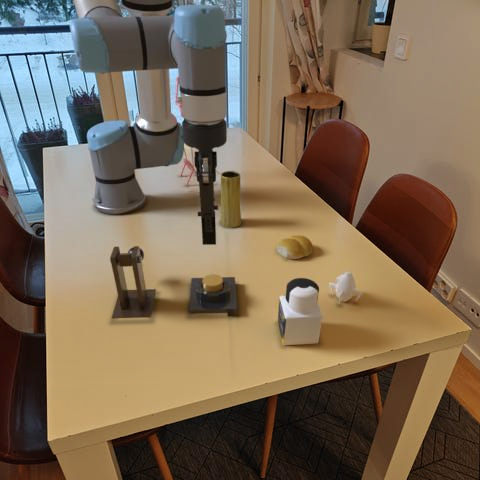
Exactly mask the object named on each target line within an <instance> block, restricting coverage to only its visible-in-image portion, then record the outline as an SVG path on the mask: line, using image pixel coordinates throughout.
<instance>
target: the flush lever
mask: <svg viewBox="0 0 480 480" xmlns="http://www.w3.org/2000/svg"><path fill="white" fill-rule="evenodd" d="M133 248H134V246H133V247H131V248H130V249H129V250H128V251H127V252H120V254H119V265H120V267H123V268H124V267H127V268H128V267H132V261H131V255H132V252H133ZM139 249H140V255H141V257H142V261H144V258H145V253H144V251H143V249H142V248H140V247H139Z"/></svg>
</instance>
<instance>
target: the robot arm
mask: <svg viewBox="0 0 480 480" xmlns="http://www.w3.org/2000/svg"><path fill="white" fill-rule="evenodd" d="M72 1H73V4H74V8H75V13H76V15H77V18H73V19H71V20H70V22H69V30H70V35H71V40H72V44H73V51H74V54H75V59H76V63H77V67H78V69H79V70H80V71H81V72H83V73H87V74H89V73H91V74H92V73H93V74H95V73H96V74H97V73H98V74H101V75H104V74H107V73H123V72H135V78H136V86H137V87H136V88H137V96H138V104H139V113H138V114H137V116H136V117H135V120H134V121H135V125H131V126H130V125H129V123H127V121H125V120H121V119H119V120H118V119H117V120H116V119H113V120H107V121H103V122H100V123H98V124H95V125H94V126H91V127H90V129H88V131H87V133H86V139H87V145H88V146H87V149H88V151H89V155H90V160H91V164H92V170H93V173H94V179H95V187H94V195H93V198H92V202H93V204H94V208H95V210H96V211H98V212H100V213H102V214H106V215H126V214H130V213H134V212H136V211H138V210H140V209H141V208H143V207H144V206H145V204H146V197H145V194H144V192H143V190H142V187H141V186H140V184H139V182H138V180H137V178H136V172H135V170H141V169H150V168H159V167H169V166H173V165H178V164H179V163H180V162H182V160H183V157H184V154H185V153H184V149H185V146H187V147H189V148H190V149H191V148H192V149H196V150H198V151H194V156H193V163H194V168H195V169H196V170H195V171H196V172H197V176H196V181H197V182H198V188H199V202H200V211H197V217H200V219H201V220H200V221H201V237H202V238H201V240H202V245H203V246H208V245H209V246H210V245H211V246H212V245H213V246H214V245H215V246H216V245H217V226H216V225H217V223H216V211H219V205H215V201H216V199H215V182H216V181H217V168H218V156H217V155H218V154H217V153H218V152H217V151H216V150H215V151H214V149H218V148H221V147H223V146H225V144H226V143H227V142H228V141H227V140H228V135H227V134H228V132H227V131H228V130H227V129H228V125H227V124H228V123H227V120H225V119H226V118H227V116H228V108H227V107H228V105H227V103H228V102H227V101H228V100H227V99H228V98H227V46H226V45H227V37H228V35H227V29H226V18H225V12H224V10H223V8H222V7H220V6H218V5H211V4H183V5H179V6H177V7H176V8H175V10H174V13H172V14H170V15H168V13H169V12H170V11H171V10H172V8H173V0H121V6H122V7H123V8H124V9H125V10H126V11H127V12H128V14H129V16H124V15H123V13H122V11H121V10H122V9H121V8H120V5H119V3H118V0H72ZM176 69H177V73H178V76H179V85H178V88H179V96H177V104H182V106H181V113H182V117H181V118H183V120H182V122H179V121H178V119H177V116H176V115H174V114H173V113H172V102H171V101H172V100H171V99H172V98H171V78H170V70H176Z"/></svg>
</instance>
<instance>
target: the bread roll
mask: <svg viewBox="0 0 480 480" xmlns="http://www.w3.org/2000/svg"><path fill="white" fill-rule="evenodd" d="M276 250H277V253H278V254H279V255H280V256H282V257H283V258H285V259H287V260H297V259H301V258H303V257H308V256H310V255H312V253H313V250H314V246H313V243H312V241H311V240H310V239H309V238H308V237H306V236H305V235H300V234H299V235H297V234H296V235H291V236H289V237H287V238H286V237H285V238H282V239H280V240H279V241H278V243H277V245H276Z"/></svg>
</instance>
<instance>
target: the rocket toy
mask: <svg viewBox="0 0 480 480" xmlns="http://www.w3.org/2000/svg"><path fill="white" fill-rule="evenodd" d="M328 285H329V289H330V294H331V295H332V296H333V295H334V293H333V292H334V291H333V290H334V288H335V295H336V298H337V299H338V305H341V302H343V303H345V302H348V301H350V300H351V299H352V298H353V296H354V295H356V298H355V300H354V303H356V302H357V301H358V300H359V299H360V298H361V296H363V291H360V290H357V289H356V280H355V277H354V276H353V273H352V271H351V270H346V271H345V273H343V274H340V275H338V276H337V277H336V283H335V282H331V281H330V282H329V283H328Z"/></svg>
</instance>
